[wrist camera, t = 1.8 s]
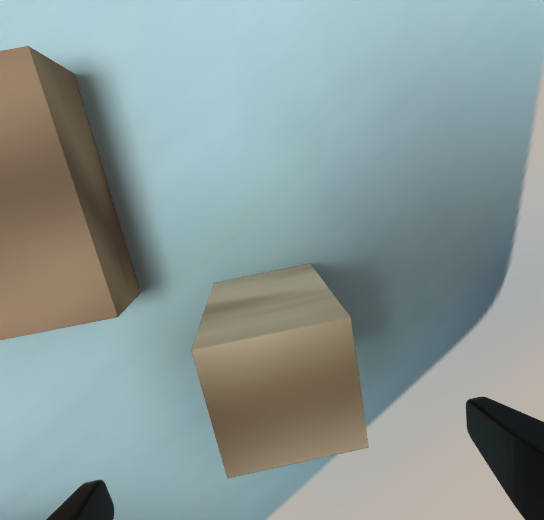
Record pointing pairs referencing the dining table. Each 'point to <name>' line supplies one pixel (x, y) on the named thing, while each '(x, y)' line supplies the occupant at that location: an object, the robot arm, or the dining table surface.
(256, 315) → the birch block
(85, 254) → the walnut block
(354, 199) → the dining table surface
